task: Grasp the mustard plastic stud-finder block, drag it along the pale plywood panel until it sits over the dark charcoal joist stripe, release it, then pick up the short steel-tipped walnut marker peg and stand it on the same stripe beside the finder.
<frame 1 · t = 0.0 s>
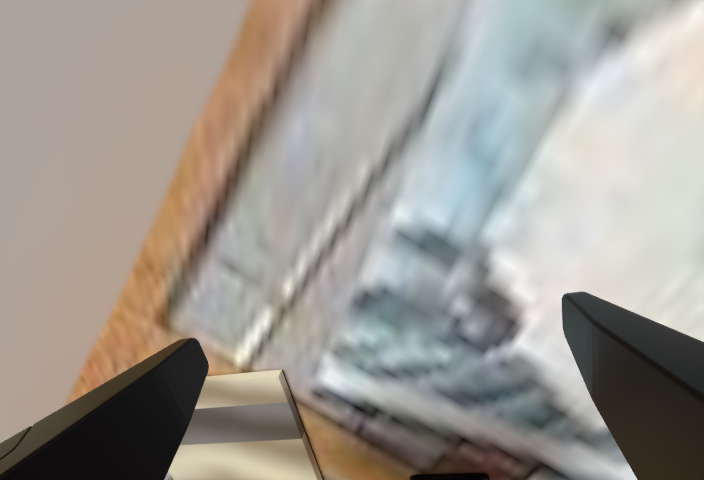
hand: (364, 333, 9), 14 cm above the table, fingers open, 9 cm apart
plywood panel: (242, 463, 34), on the table
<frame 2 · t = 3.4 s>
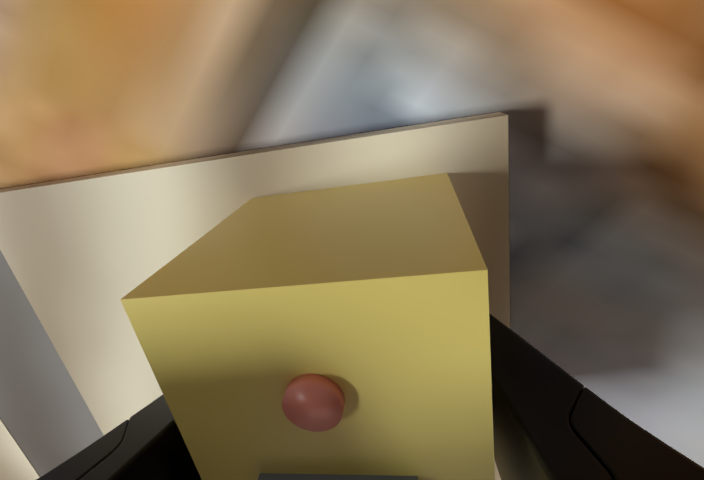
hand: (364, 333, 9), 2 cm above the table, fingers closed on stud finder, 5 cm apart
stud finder: (367, 316, 10), point 1 cm above the table, touching gripper, plywood panel
plywood panel: (189, 377, 13), on the table
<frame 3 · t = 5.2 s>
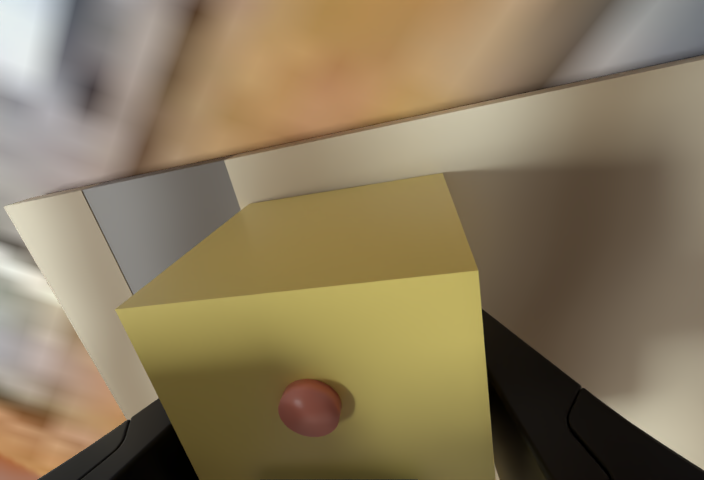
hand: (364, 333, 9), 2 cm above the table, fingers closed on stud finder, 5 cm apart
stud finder: (368, 319, 10), point 1 cm above the table, touching gripper
plywood panel: (421, 365, 11), on the table
when the fingers open (1 cm above the table, at t = 6.4 s): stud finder stays where it is, resting on plywood panel.
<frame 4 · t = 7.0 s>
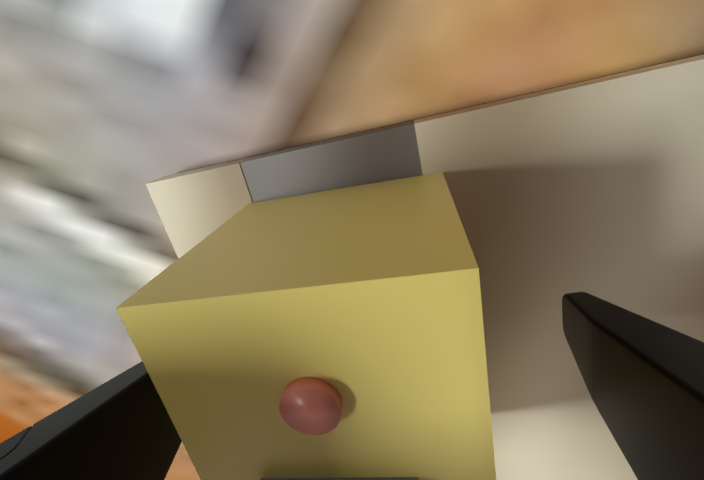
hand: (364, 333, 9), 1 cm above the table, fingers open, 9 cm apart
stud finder: (368, 318, 10), point 1 cm above the table, touching plywood panel
plywood panel: (586, 353, 10), on the table
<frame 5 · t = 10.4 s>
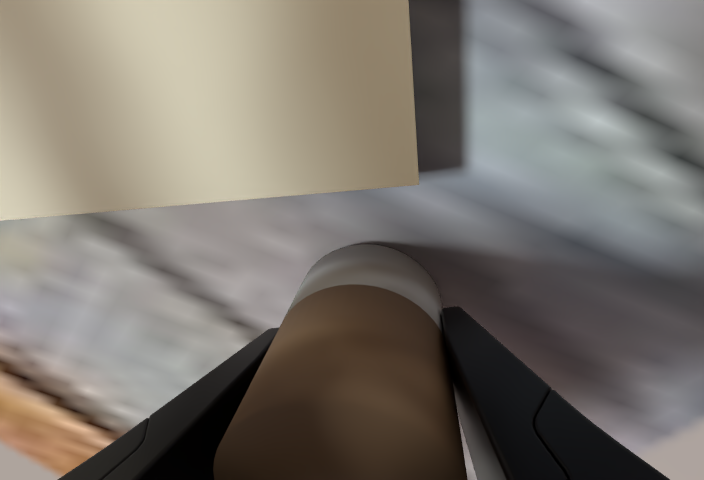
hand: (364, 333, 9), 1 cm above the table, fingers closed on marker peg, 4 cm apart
marker peg: (368, 309, 10), on the table, touching gripper
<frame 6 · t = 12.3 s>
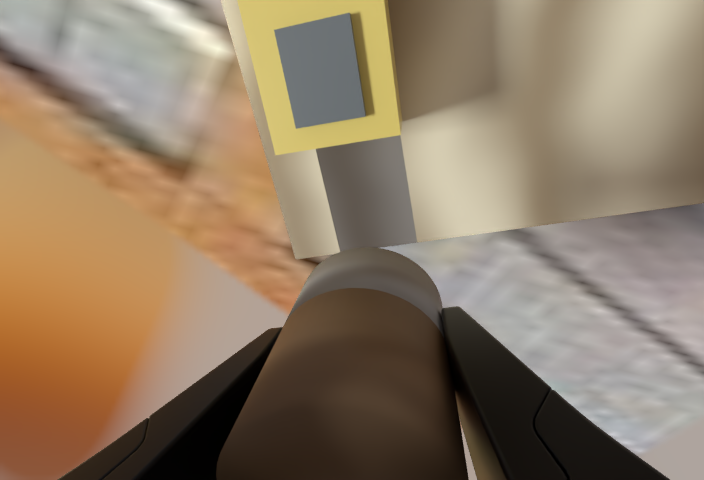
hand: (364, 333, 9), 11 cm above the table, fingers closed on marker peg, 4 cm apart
marker peg: (369, 311, 10), point 10 cm above the table, touching gripper
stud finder: (338, 45, 16), point 1 cm above the table, touching plywood panel
plywood panel: (474, 78, 16), on the table
when the fingers open (3 cm above the table, at t = 14.1 s): marker peg drops 1 cm, resting on plywood panel.
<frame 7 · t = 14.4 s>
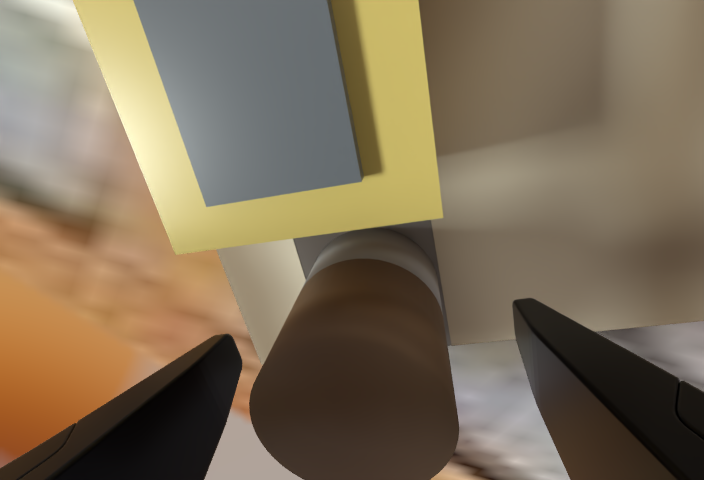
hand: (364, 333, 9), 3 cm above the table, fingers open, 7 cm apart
marker peg: (373, 286, 11), point 1 cm above the table, touching plywood panel
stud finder: (313, 27, 9), point 1 cm above the table, touching plywood panel
plywood panel: (554, 81, 9), on the table
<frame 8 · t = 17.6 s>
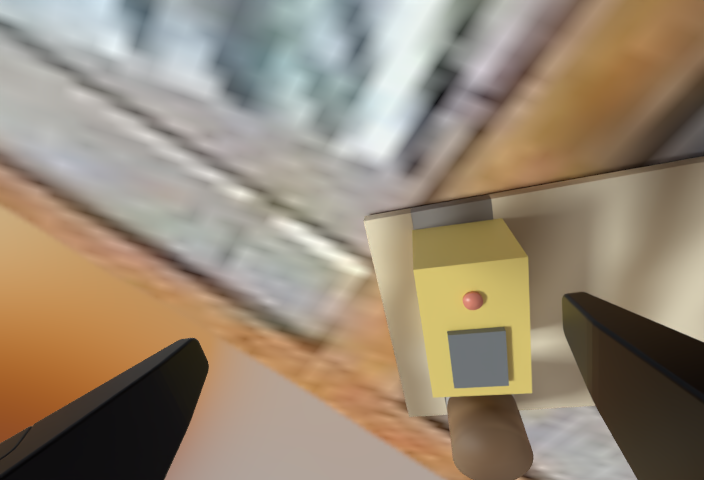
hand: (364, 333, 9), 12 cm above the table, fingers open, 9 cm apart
marker peg: (475, 382, 23), point 1 cm above the table, touching plywood panel
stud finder: (462, 283, 21), point 1 cm above the table, touching plywood panel
plywood panel: (565, 301, 21), on the table
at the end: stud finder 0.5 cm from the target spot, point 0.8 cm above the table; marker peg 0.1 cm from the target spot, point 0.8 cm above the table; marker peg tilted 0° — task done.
